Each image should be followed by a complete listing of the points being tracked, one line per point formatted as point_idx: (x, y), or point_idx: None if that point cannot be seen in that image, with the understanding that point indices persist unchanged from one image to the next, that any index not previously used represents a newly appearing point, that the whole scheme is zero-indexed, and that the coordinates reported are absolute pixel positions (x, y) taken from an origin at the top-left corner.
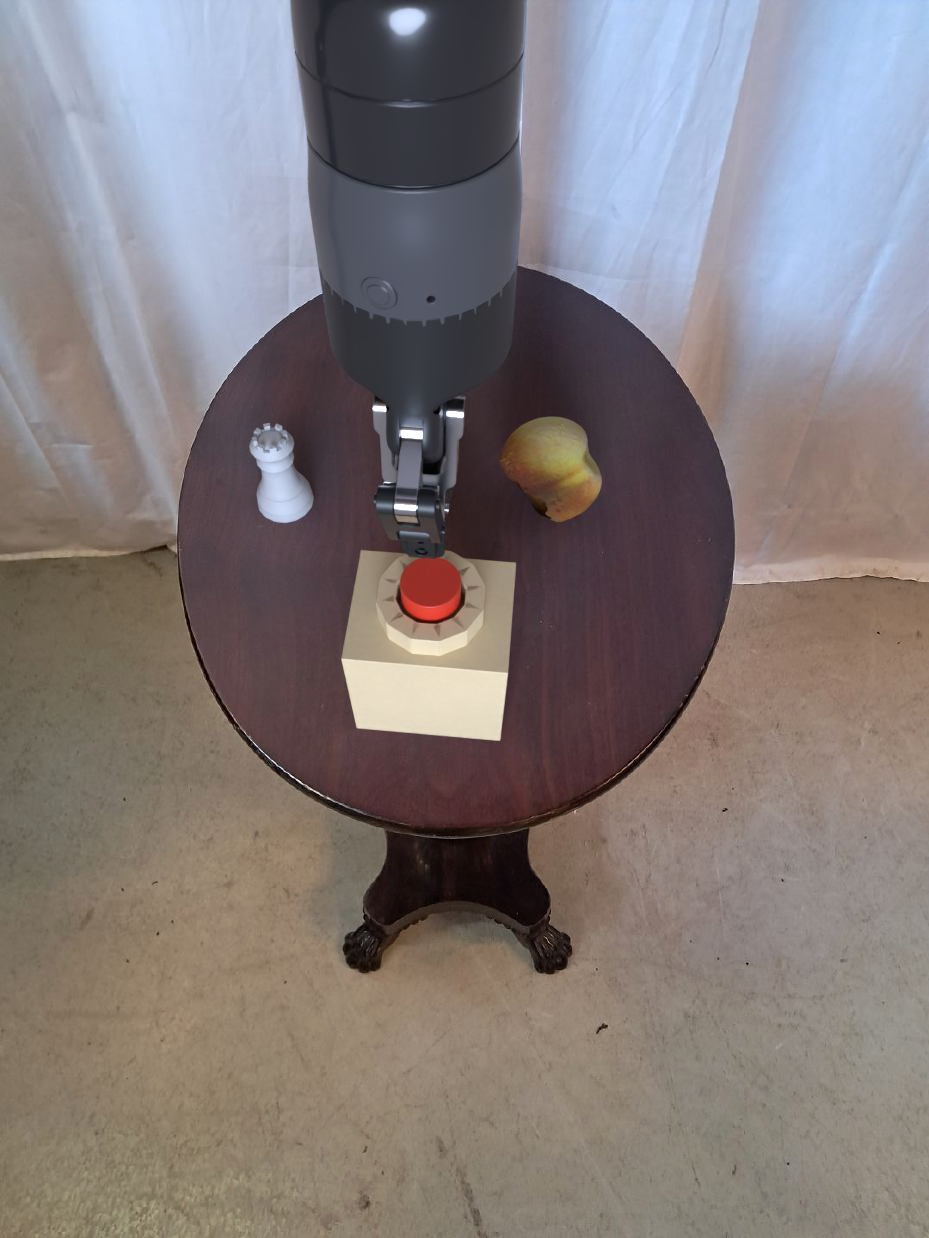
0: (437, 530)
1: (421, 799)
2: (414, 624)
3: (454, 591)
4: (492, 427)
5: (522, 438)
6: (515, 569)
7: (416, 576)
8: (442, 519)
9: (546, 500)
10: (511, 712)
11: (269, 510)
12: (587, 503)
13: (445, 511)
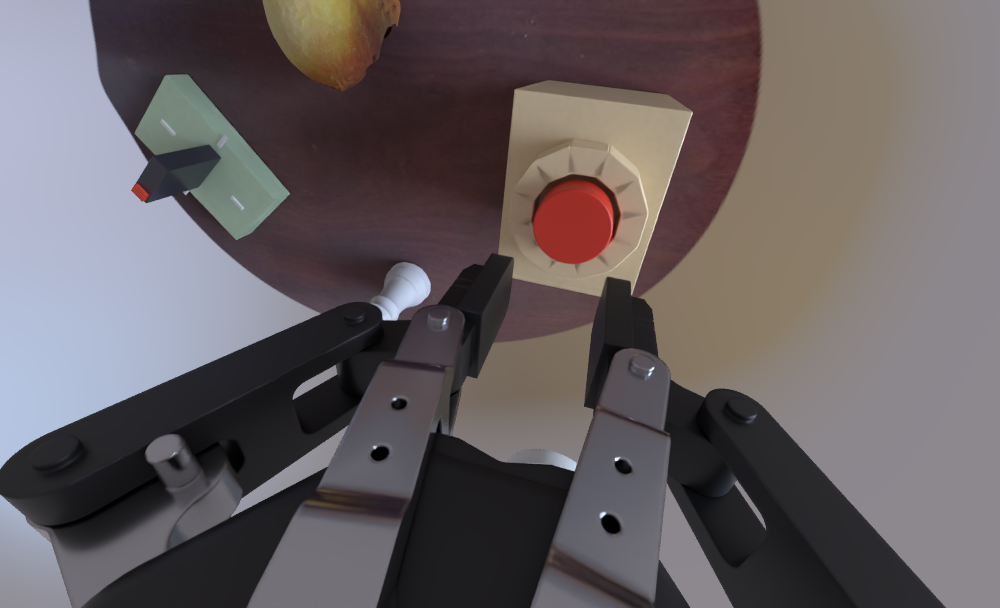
0: (897, 556)
1: (713, 182)
2: (617, 241)
3: (591, 199)
4: (292, 87)
5: (309, 61)
6: (525, 90)
7: (563, 245)
8: (727, 425)
9: (385, 26)
10: (635, 79)
11: (423, 298)
12: None
13: (653, 371)
